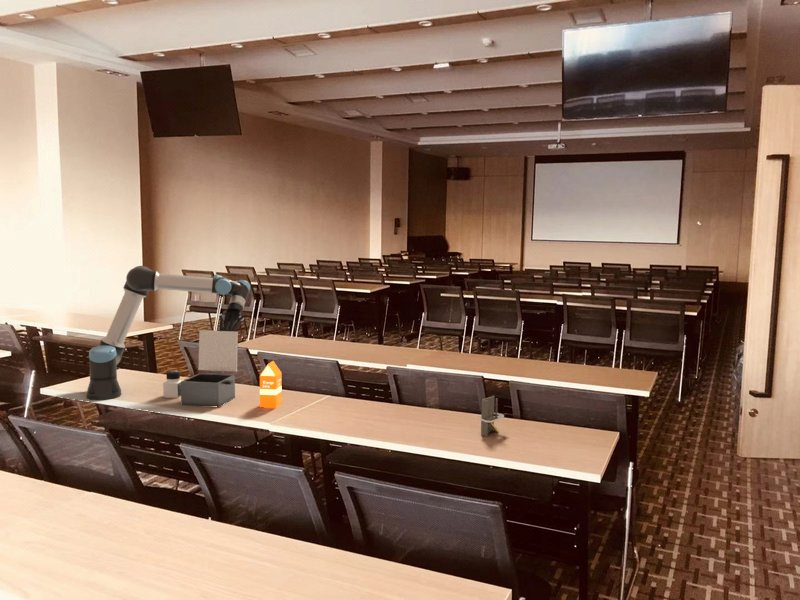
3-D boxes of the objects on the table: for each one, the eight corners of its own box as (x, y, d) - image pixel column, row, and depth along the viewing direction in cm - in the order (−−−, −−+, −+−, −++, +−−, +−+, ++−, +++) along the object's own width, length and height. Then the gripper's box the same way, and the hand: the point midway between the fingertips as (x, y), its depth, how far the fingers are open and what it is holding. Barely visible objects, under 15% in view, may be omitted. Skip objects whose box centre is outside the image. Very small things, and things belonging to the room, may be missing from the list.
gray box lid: (198, 372, 305) (201, 371, 308) (235, 374, 302) (238, 373, 305) (199, 330, 305) (202, 330, 308) (236, 331, 302) (239, 331, 305)
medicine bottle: (178, 398, 302) (177, 373, 301) (163, 397, 302) (162, 372, 301) (183, 394, 309) (183, 370, 308) (169, 394, 309) (168, 369, 308)
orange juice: (282, 403, 294) (281, 360, 293) (276, 408, 286) (276, 364, 284) (265, 402, 295) (265, 360, 293) (259, 407, 286) (259, 363, 285)
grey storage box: (194, 395, 306) (194, 373, 305) (239, 398, 303) (239, 375, 302) (176, 405, 289) (175, 381, 288) (223, 407, 285) (223, 383, 284)
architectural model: (528, 432, 255) (529, 397, 253) (494, 447, 236) (495, 409, 235) (487, 423, 268) (488, 389, 266) (451, 436, 249) (452, 399, 247)
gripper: (250, 311, 326) (237, 348, 311) (226, 310, 328) (212, 347, 313) (246, 302, 320) (232, 339, 305) (221, 301, 322) (207, 338, 307)
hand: (222, 343), depth 309 cm, fingers closed
